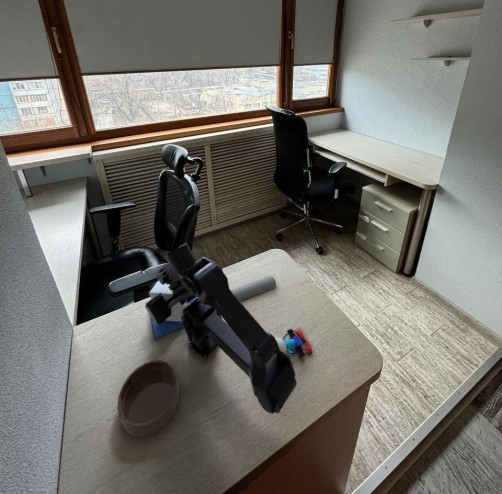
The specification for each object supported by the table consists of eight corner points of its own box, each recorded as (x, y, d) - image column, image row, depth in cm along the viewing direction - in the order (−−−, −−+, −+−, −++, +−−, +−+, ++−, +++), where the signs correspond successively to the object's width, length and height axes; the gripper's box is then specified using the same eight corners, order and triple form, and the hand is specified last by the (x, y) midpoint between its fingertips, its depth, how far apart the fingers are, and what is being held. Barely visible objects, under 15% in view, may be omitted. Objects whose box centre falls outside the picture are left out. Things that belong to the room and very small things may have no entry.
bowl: (190, 393, 64) (188, 381, 62) (144, 454, 54) (140, 443, 52) (156, 361, 70) (154, 349, 68) (110, 410, 61) (105, 399, 59)
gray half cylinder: (218, 297, 88) (218, 293, 87) (271, 277, 95) (271, 274, 95) (222, 308, 84) (222, 304, 84) (277, 286, 92) (277, 282, 91)
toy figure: (297, 332, 78) (251, 346, 72) (301, 320, 77) (254, 334, 70) (312, 359, 72) (262, 377, 66) (317, 347, 70) (266, 365, 64)
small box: (190, 306, 83) (182, 279, 80) (182, 322, 78) (173, 293, 75) (167, 305, 85) (158, 278, 82) (158, 320, 80) (148, 292, 77)
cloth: (194, 295, 89) (194, 295, 89) (203, 318, 81) (203, 317, 81) (150, 313, 83) (150, 312, 83) (155, 339, 75) (154, 338, 75)
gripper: (202, 240, 77) (182, 254, 88) (142, 281, 64) (127, 292, 74) (223, 274, 76) (200, 284, 86) (167, 323, 62) (148, 328, 73)
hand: (170, 295), depth 80 cm, fingers closed on small box, 7 cm apart
